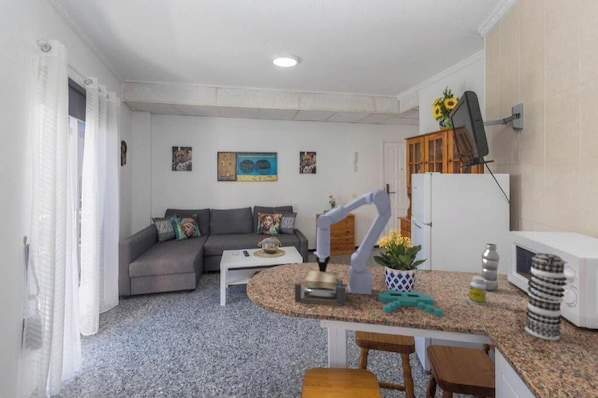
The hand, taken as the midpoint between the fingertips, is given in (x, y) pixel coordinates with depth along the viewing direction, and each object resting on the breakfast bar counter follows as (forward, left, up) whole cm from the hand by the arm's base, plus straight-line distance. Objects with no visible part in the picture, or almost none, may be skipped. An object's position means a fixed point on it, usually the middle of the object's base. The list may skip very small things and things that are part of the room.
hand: (322, 273), depth 126 cm
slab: (0, +7, -1) cm, 7 cm away
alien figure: (-33, +9, -7) cm, 35 cm away
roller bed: (0, +3, -6) cm, 7 cm away
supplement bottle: (-61, +4, -6) cm, 61 cm away
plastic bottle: (-72, -11, -6) cm, 73 cm away
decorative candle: (-71, +25, -6) cm, 75 cm away
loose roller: (0, +13, -6) cm, 14 cm away
